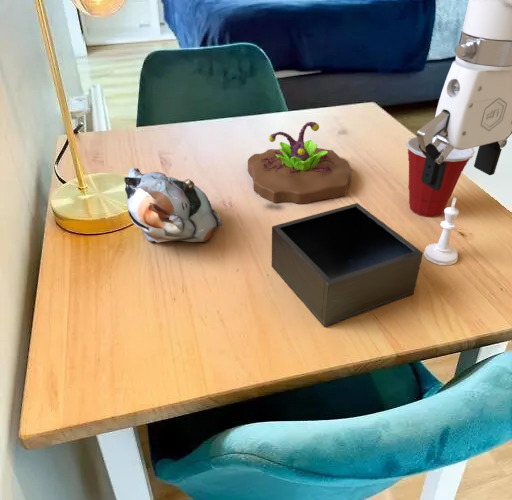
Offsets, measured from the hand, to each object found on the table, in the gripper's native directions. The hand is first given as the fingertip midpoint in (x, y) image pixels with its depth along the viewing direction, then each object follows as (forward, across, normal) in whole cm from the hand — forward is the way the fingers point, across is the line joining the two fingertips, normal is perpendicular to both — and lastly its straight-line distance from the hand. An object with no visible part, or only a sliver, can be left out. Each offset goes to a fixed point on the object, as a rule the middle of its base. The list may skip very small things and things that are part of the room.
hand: (457, 178), depth 70 cm
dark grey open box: (+13, -17, +1) cm, 22 cm away
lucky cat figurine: (+14, -34, +23) cm, 43 cm away
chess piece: (+13, 0, -1) cm, 13 cm away
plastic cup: (+13, +8, +11) cm, 19 cm away
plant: (+14, -6, +31) cm, 35 cm away
